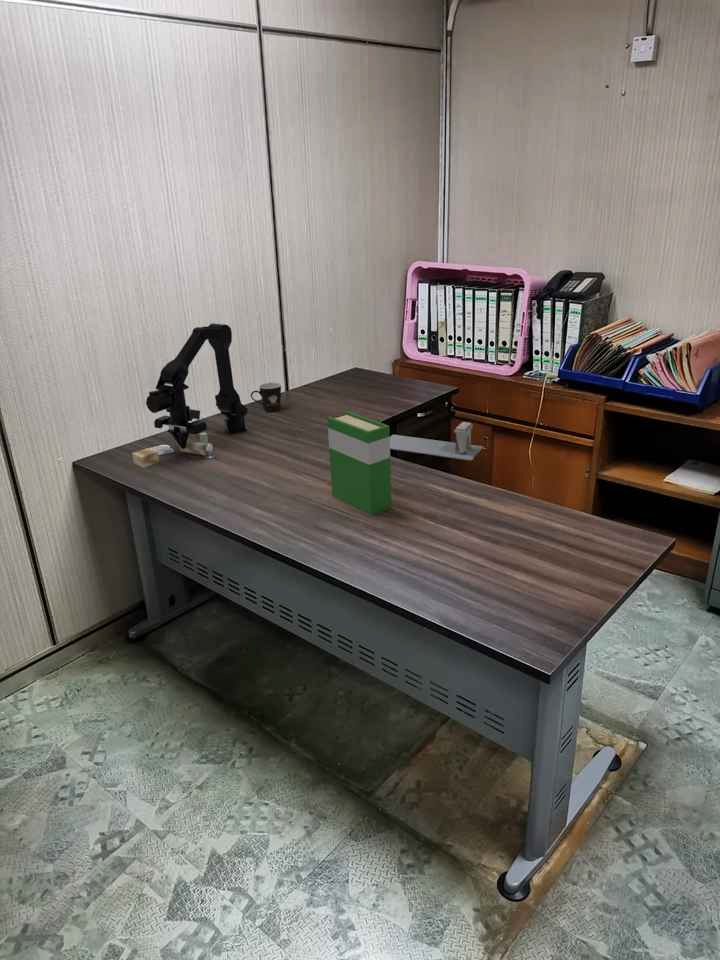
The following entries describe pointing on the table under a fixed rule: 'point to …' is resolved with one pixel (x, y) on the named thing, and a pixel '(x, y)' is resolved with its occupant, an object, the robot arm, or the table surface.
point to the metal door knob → (209, 451)
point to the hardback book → (360, 462)
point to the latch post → (203, 438)
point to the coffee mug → (270, 396)
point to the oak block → (145, 457)
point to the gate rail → (194, 448)
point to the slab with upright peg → (440, 444)
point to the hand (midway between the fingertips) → (183, 448)
